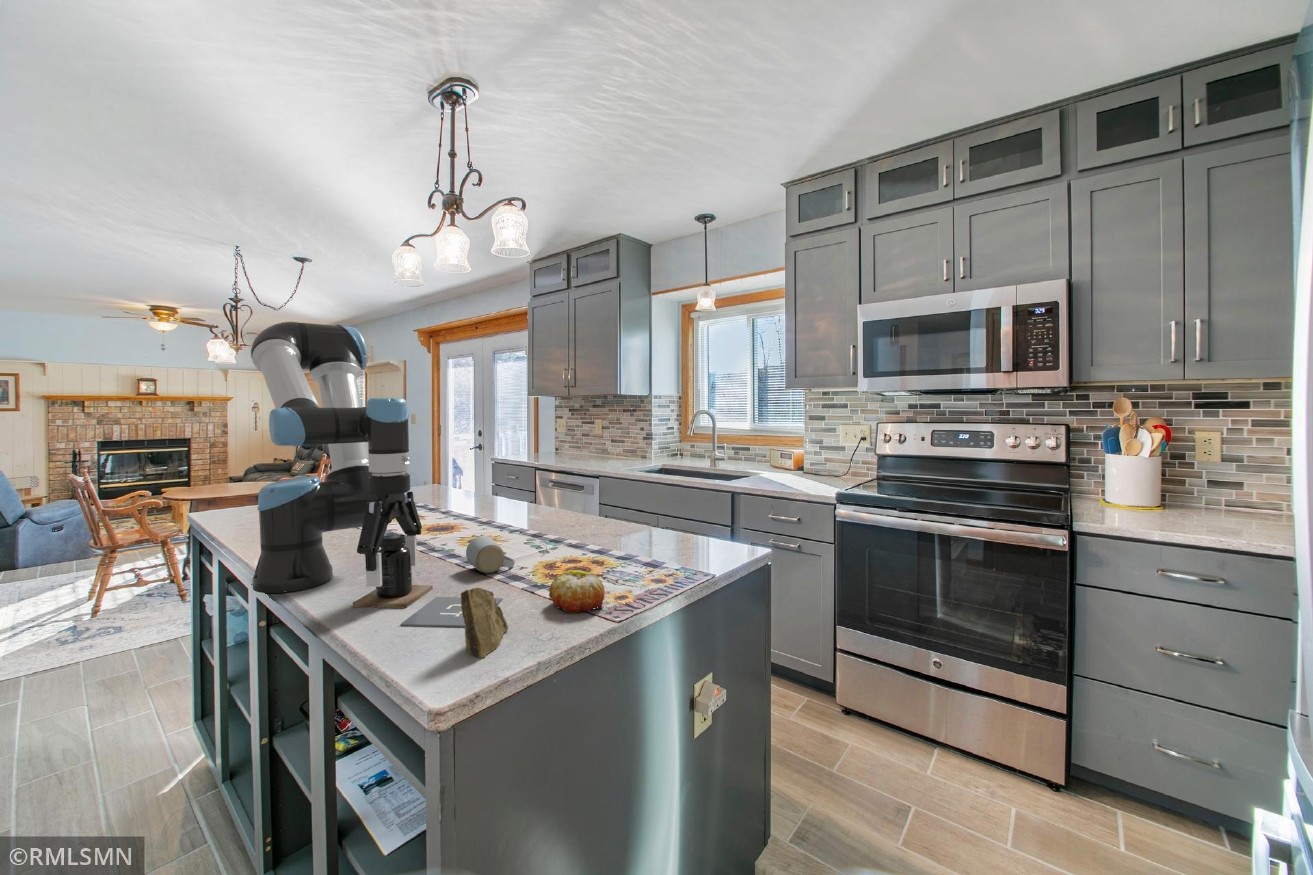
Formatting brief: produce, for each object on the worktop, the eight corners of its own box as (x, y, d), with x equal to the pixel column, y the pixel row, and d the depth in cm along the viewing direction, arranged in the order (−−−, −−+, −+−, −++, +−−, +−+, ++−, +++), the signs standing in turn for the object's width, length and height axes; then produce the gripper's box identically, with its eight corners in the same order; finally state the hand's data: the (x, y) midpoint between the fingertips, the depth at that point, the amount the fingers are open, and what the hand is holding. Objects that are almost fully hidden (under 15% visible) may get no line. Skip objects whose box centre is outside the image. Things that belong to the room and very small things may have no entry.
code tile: (400, 625, 101) (400, 623, 101) (436, 598, 115) (436, 596, 115) (475, 627, 100) (475, 625, 100) (502, 599, 114) (502, 597, 114)
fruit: (537, 610, 107) (542, 567, 109) (563, 607, 116) (567, 568, 118) (589, 616, 103) (593, 572, 105) (612, 613, 113) (615, 572, 114)
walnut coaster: (352, 606, 110) (352, 602, 110) (383, 587, 121) (383, 584, 121) (406, 607, 109) (406, 603, 109) (432, 588, 120) (432, 585, 120)
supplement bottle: (419, 591, 116) (417, 535, 116) (388, 601, 111) (386, 542, 110) (399, 585, 120) (397, 531, 119) (369, 595, 114) (366, 537, 114)
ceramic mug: (476, 577, 128) (475, 544, 128) (465, 568, 135) (465, 537, 134) (520, 570, 134) (520, 538, 134) (507, 562, 141) (507, 532, 140)
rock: (493, 610, 102) (442, 619, 94) (514, 578, 99) (464, 585, 91) (519, 660, 96) (468, 674, 88) (542, 627, 93) (491, 639, 85)
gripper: (371, 482, 101) (376, 596, 102) (436, 466, 126) (438, 558, 127) (332, 482, 101) (337, 595, 103) (404, 465, 126) (407, 557, 128)
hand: (393, 575), depth 115 cm, fingers open, 13 cm apart
